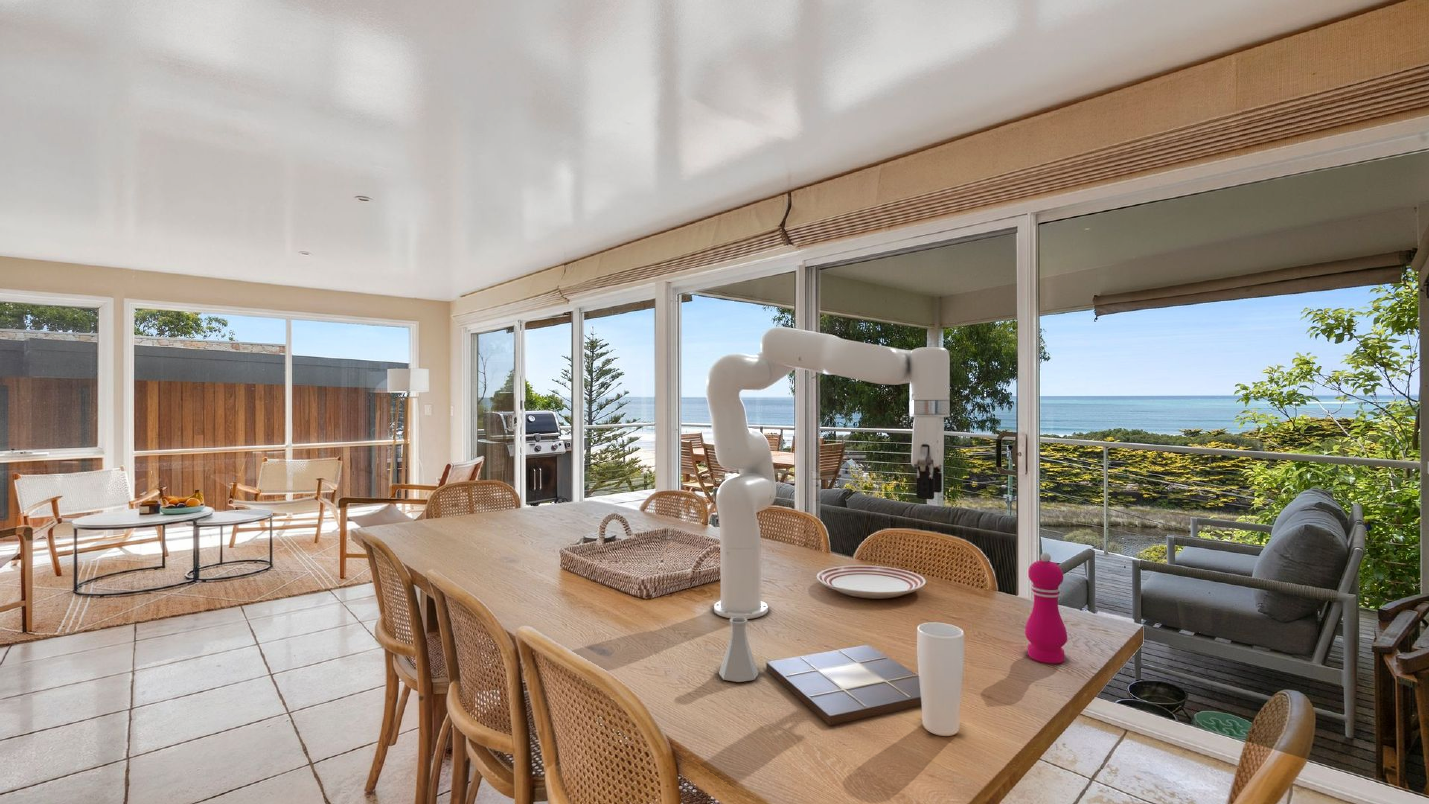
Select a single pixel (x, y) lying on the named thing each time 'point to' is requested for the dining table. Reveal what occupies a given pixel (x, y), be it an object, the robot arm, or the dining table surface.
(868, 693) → the board
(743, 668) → the flask
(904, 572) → the dinner plate
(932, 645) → the drinking glass
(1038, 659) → the pepper mill
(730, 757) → the dining table surface
